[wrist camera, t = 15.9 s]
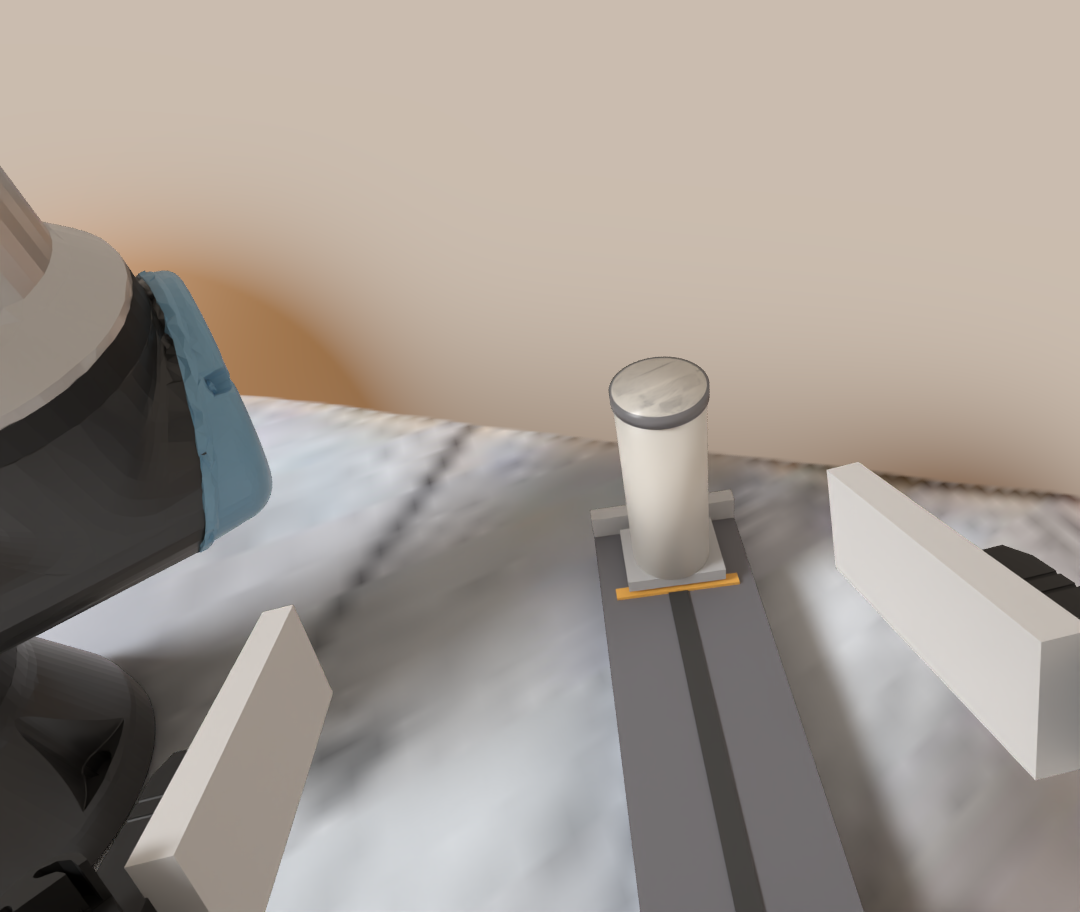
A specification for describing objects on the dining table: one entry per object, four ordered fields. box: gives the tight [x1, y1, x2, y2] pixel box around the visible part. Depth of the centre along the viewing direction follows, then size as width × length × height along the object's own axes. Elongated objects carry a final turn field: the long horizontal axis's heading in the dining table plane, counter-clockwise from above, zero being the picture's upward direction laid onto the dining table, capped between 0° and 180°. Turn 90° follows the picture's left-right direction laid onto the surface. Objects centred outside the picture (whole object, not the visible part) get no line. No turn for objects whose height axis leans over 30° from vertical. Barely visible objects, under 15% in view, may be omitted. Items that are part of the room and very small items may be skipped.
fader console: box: [590, 489, 864, 912], centre depth 32 cm, size 22×8×4 cm, turn 2°
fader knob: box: [609, 357, 726, 592], centre depth 32 cm, size 4×5×12 cm
